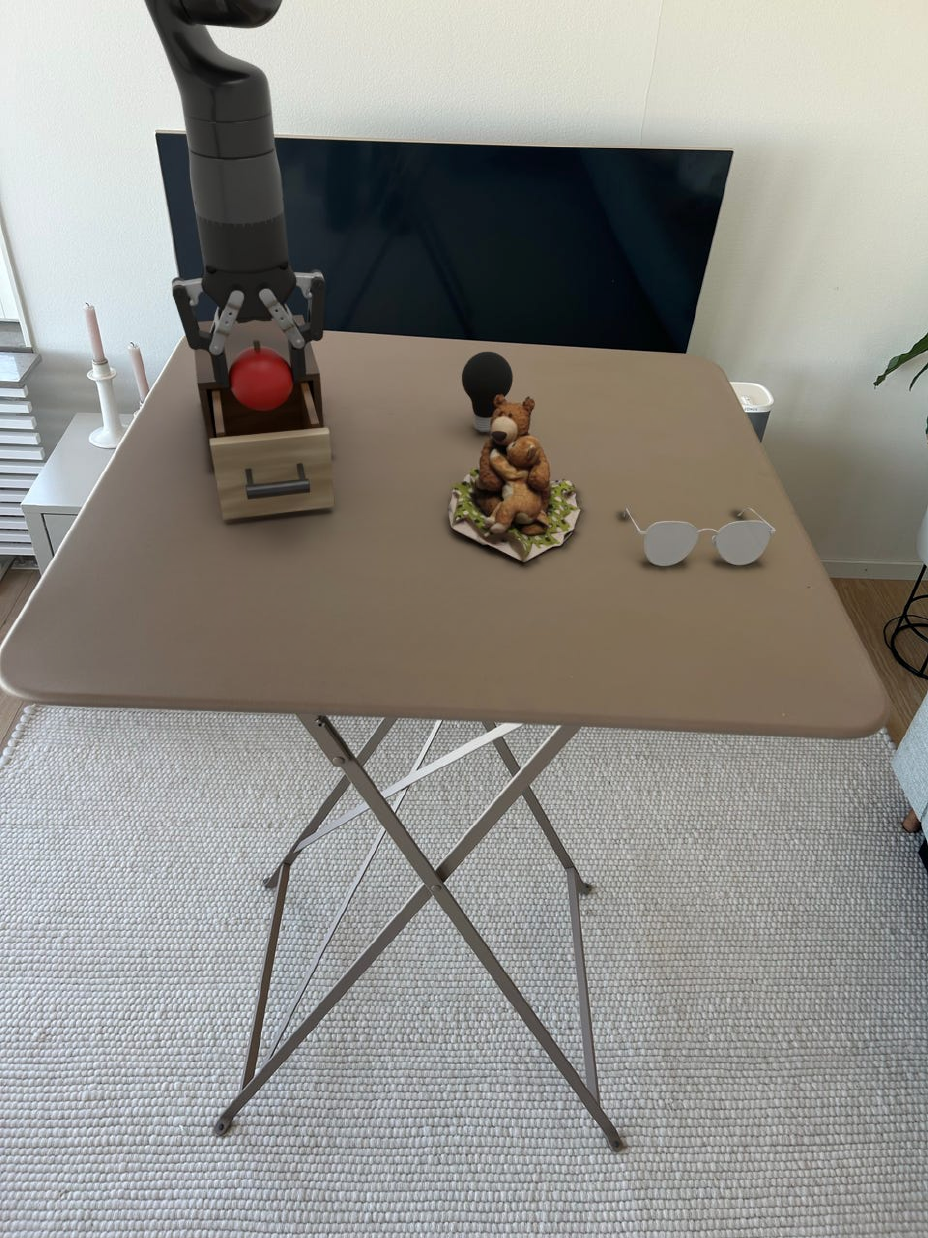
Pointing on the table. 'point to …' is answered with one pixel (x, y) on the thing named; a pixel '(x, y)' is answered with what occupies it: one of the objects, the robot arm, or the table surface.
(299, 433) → the drawer
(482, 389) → the light bulb
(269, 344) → the cabinet
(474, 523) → the bear figurine
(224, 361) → the robot arm
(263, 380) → the apple
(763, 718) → the table surface
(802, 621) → the table surface
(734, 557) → the sunglasses
